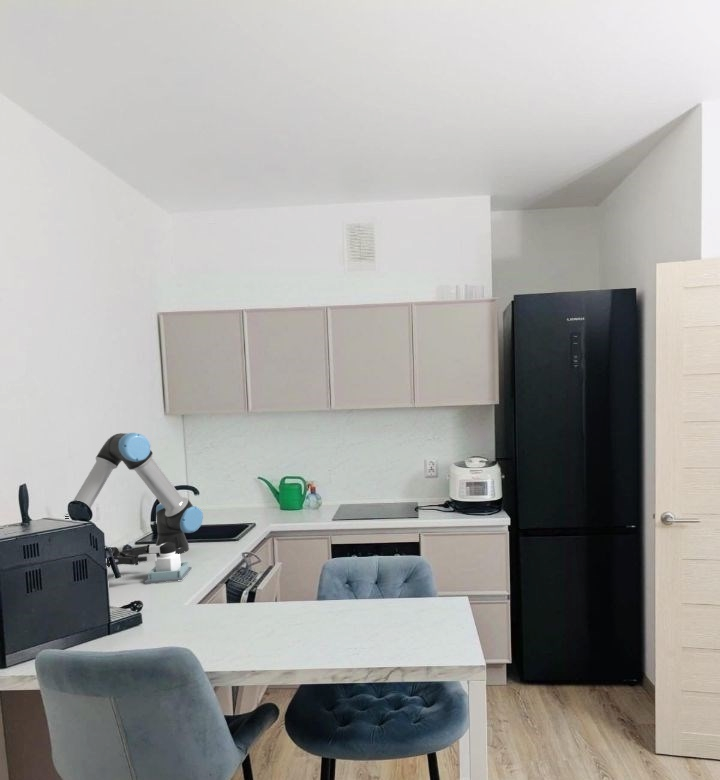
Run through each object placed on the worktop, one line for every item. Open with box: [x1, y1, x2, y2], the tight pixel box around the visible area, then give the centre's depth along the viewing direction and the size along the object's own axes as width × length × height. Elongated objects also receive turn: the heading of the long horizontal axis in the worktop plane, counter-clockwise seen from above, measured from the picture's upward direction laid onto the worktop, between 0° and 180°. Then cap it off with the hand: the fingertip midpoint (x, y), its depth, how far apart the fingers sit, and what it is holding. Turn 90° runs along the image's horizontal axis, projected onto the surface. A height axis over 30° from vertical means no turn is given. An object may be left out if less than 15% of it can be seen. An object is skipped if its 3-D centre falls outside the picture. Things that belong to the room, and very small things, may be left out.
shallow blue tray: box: [144, 561, 192, 585], centre depth 235 cm, size 16×14×4 cm
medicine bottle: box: [154, 543, 182, 572], centre depth 235 cm, size 7×7×12 cm
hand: (161, 552), depth 235 cm, fingers open, 13 cm apart
